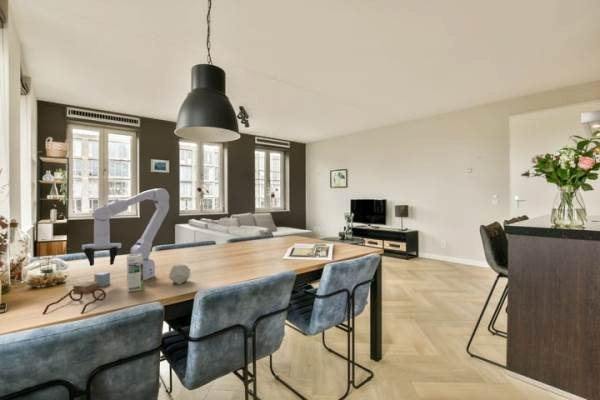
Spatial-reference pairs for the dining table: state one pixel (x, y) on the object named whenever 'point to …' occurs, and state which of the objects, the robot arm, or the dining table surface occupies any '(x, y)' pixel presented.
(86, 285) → the walnut slab
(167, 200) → the robot arm
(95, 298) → the glasses
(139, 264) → the syrup box
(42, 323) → the dining table surface
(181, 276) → the die
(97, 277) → the slate cube
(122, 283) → the dining table surface
